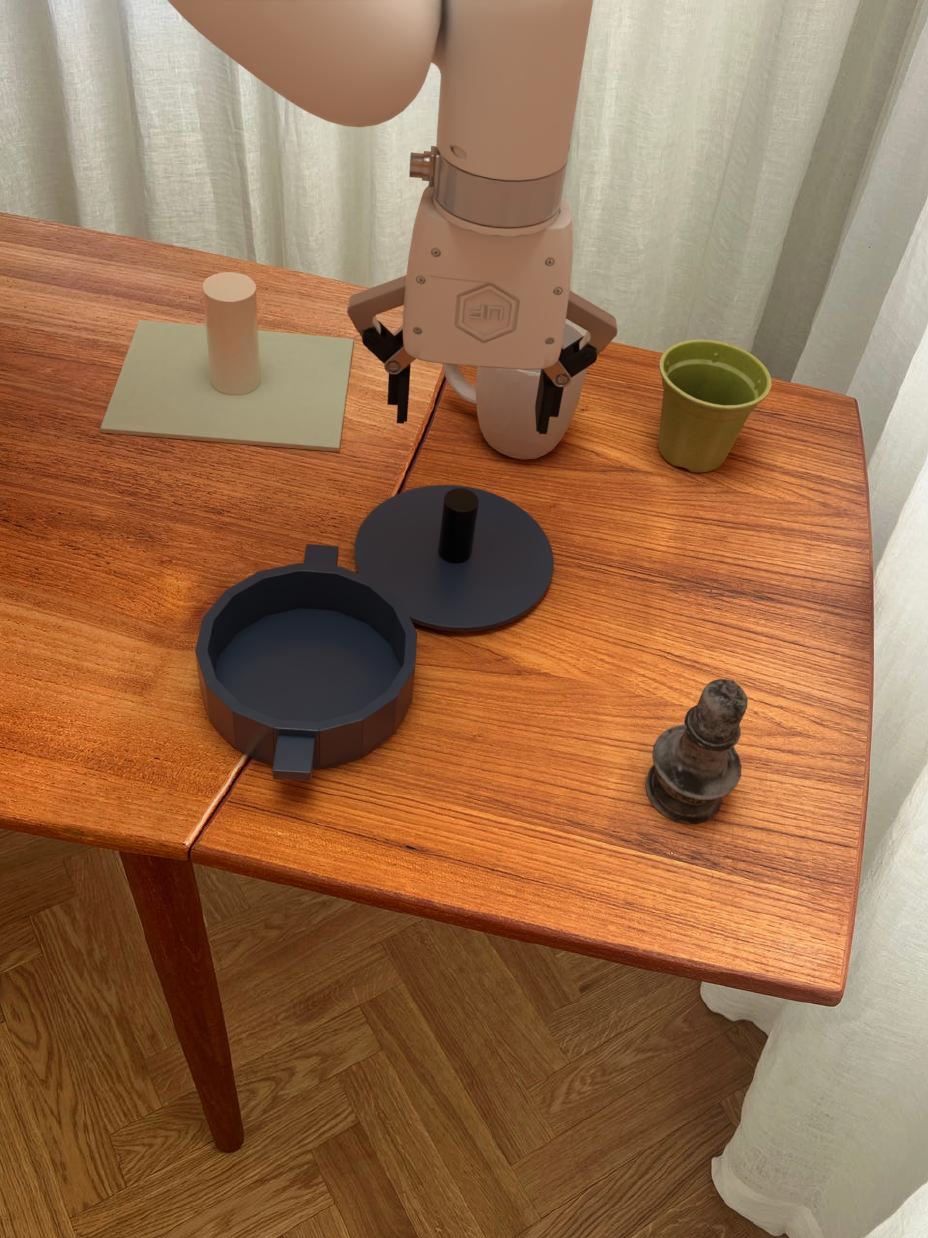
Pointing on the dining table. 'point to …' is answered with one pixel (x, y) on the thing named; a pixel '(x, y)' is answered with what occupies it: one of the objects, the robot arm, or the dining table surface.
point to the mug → (517, 405)
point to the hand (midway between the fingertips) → (471, 416)
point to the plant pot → (707, 401)
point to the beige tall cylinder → (232, 332)
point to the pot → (307, 665)
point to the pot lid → (456, 556)
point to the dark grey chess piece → (699, 756)
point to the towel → (194, 410)
